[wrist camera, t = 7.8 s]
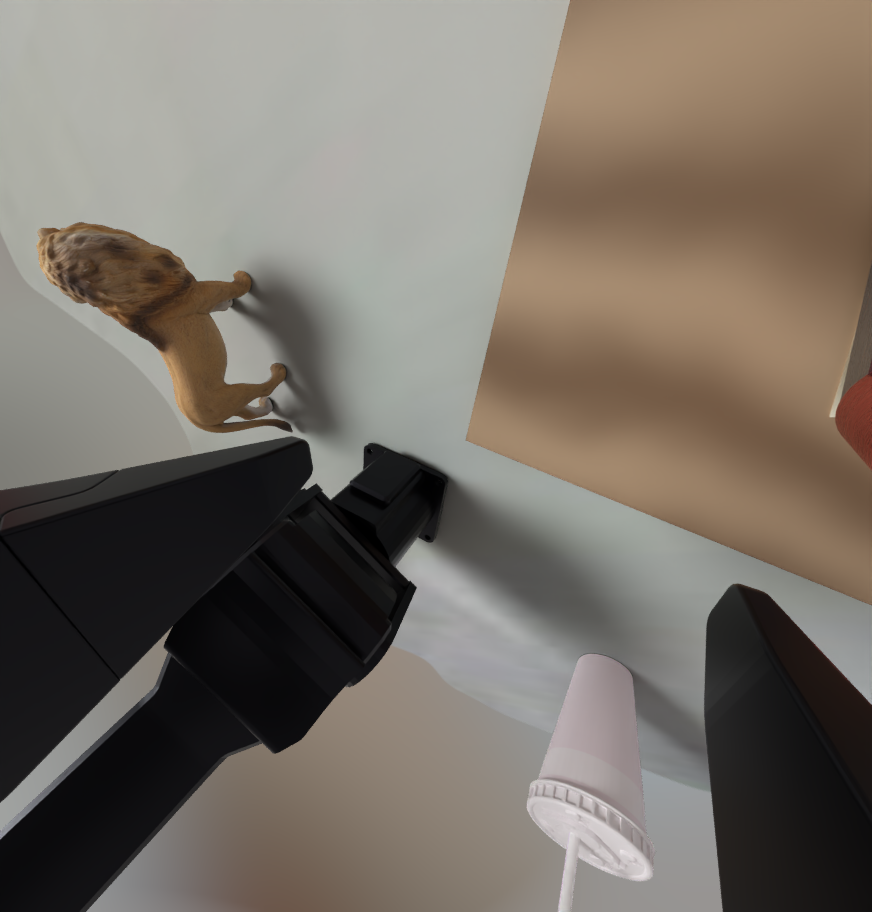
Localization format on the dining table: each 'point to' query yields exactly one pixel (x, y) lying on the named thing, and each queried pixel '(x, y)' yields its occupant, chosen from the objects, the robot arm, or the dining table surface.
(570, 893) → the smoothie
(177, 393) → the lion figurine
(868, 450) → the lever
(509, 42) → the dining table surface
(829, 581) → the press board
